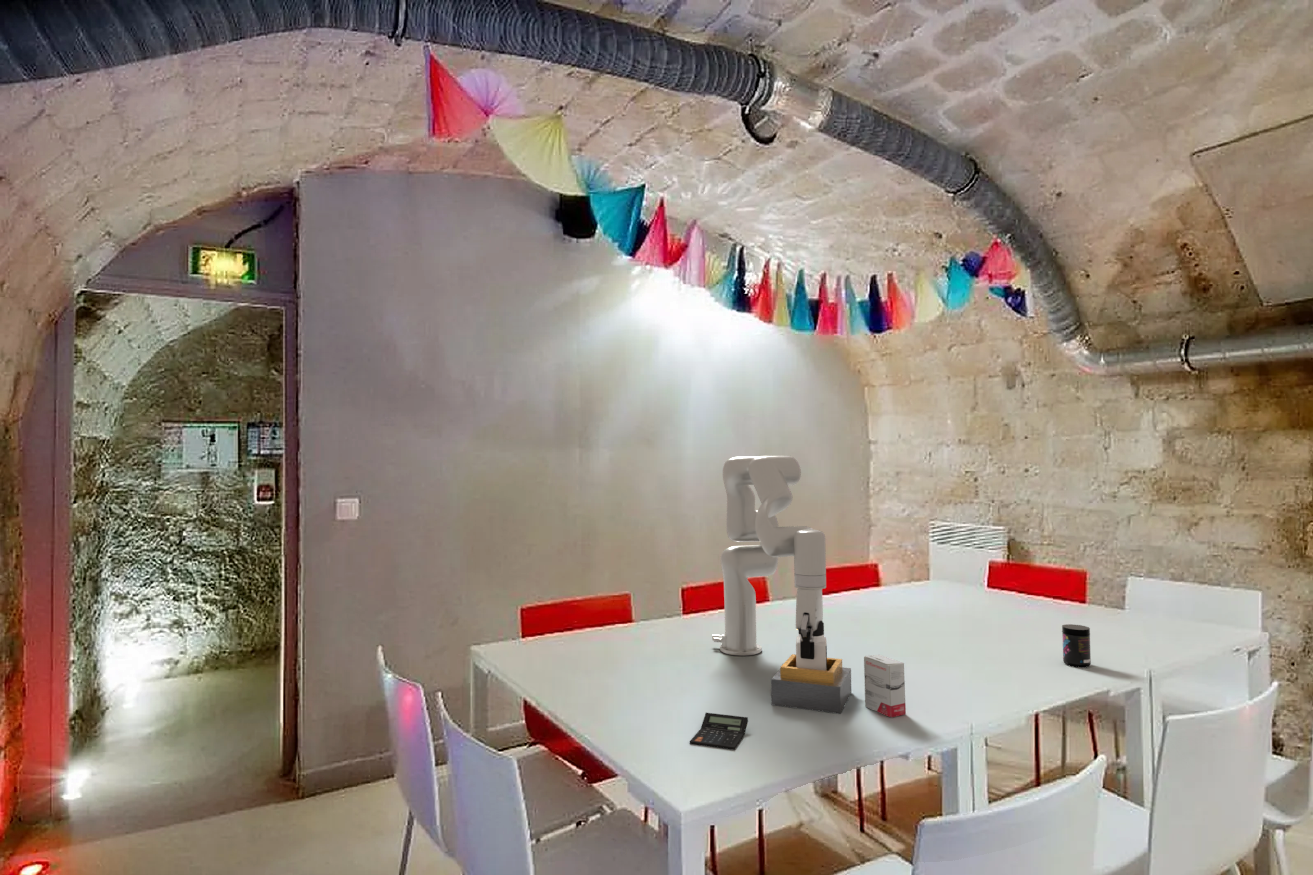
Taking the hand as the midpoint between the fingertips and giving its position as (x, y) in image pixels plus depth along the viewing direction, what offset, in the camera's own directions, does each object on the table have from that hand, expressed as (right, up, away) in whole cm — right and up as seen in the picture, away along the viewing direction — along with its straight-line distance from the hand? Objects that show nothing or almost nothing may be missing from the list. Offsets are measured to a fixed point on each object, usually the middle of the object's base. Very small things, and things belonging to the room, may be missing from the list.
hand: (811, 653), depth 173 cm
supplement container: (+79, -11, +26) cm, 84 cm away
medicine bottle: (0, -4, 0) cm, 4 cm away
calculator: (-24, -11, -24) cm, 36 cm away
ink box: (+15, -11, -9) cm, 21 cm away
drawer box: (+1, -11, +1) cm, 11 cm away
